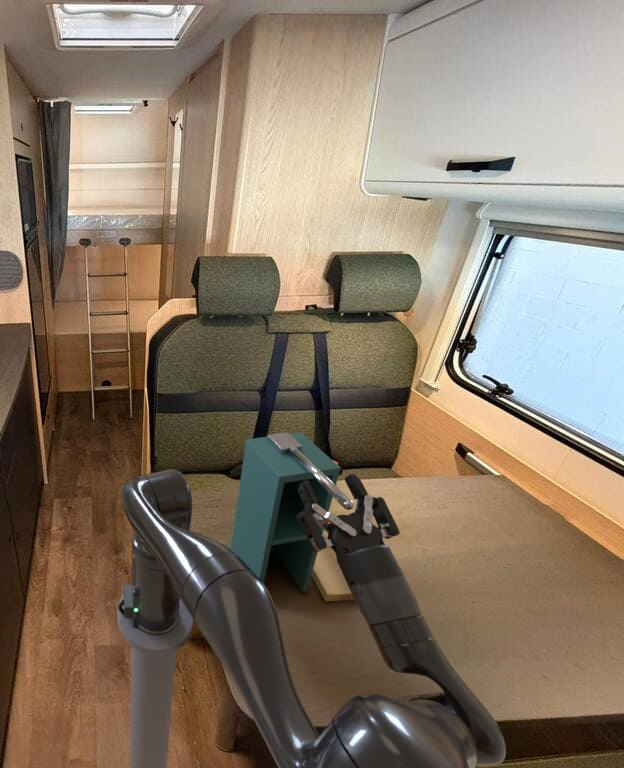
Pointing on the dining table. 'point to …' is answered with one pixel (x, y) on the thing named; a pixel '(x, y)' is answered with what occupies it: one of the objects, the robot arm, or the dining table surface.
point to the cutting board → (330, 576)
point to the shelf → (278, 507)
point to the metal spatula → (307, 465)
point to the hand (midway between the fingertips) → (326, 479)
